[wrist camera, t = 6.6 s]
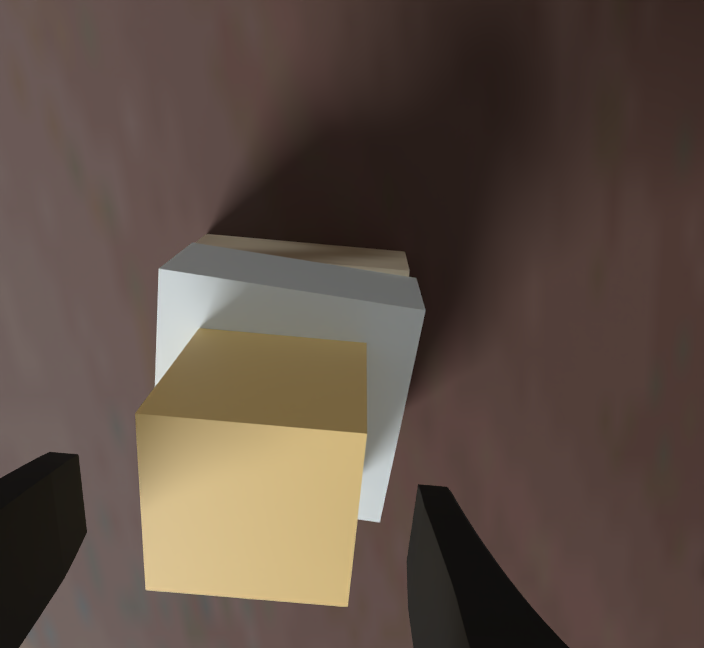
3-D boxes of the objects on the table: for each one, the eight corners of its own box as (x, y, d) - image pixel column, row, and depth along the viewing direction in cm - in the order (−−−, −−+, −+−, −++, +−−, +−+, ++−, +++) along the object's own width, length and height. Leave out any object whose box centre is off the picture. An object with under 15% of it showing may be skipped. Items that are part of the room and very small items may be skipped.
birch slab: (404, 248, 20) (409, 270, 17) (384, 417, 23) (386, 460, 20) (210, 230, 20) (184, 250, 17) (211, 401, 23) (189, 443, 20)
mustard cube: (366, 342, 15) (366, 433, 11) (352, 481, 17) (347, 606, 13) (199, 327, 15) (134, 413, 11) (201, 468, 17) (145, 589, 12)
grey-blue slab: (416, 278, 18) (425, 310, 15) (378, 464, 20) (379, 522, 17) (192, 242, 17) (158, 268, 14) (182, 435, 20) (151, 489, 17)
